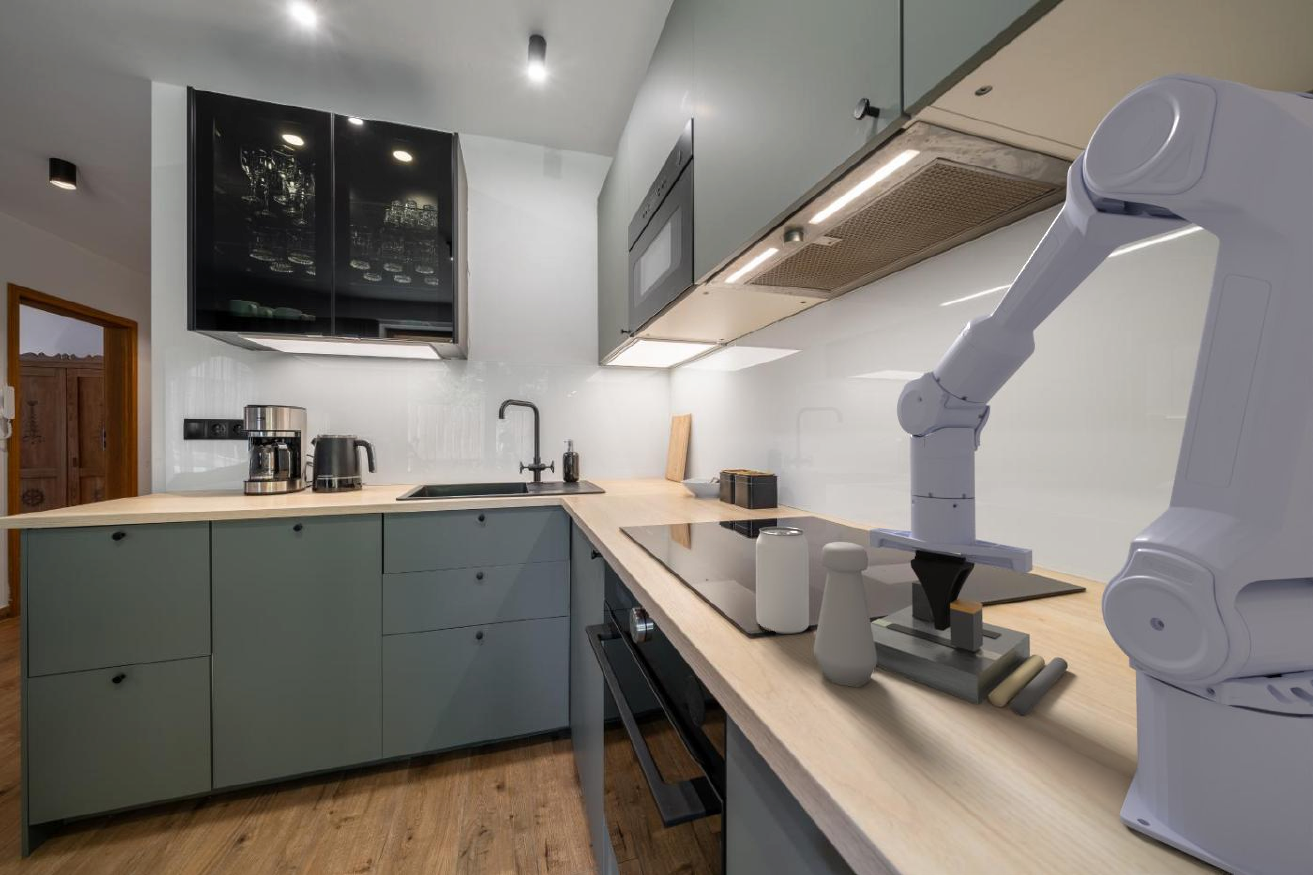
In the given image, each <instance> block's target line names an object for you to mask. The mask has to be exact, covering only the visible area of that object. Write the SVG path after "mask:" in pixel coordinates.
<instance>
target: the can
mask: <svg viewBox="0 0 1313 875" xmlns="http://www.w3.org/2000/svg"><path fill="white" fill-rule="evenodd" d="M758 531H759V534H758V537H757V539H756V542H755V602H756V604H755V605H756V607H755V610H756V612H755V613H756V614H755V615H756V616H755V617H756V622H757V624H758V625H759V624H760V625H761V626H763V627H766V628H769V629H771V630H773V631H775V632H776V633H775V634H780V635H798V634H801V633H804V632H805V631H806V630H807V629H808V628H809V626H810V597H809V596H810V583H809V582H810V581H809V580H810V577H809V576H810V573H809V571H810V569H809V565H810V564H809V562H810V561H809V559H810V558H809V543H808V541H807V538H806V536H805V533H806V532H805V530H803V529H800V528H796V527H788V526H765V527H762V528H759V529H758ZM760 625H759V626H760Z"/></svg>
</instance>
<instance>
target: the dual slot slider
mask: <svg viewBox="0 0 1313 875" xmlns="http://www.w3.org/2000/svg"><path fill="white" fill-rule="evenodd" d="M911 597H912V600H911V604H910V605H909V606H907V607H904V608H902V609H900V610H897V611H895V612H893V613H890V614H888V615H887V616H884V617H882V618H877V619H876V620H873V621H872V622H871V621H870V623H871V629H872V634H873V639H874V644H875V649H876V654H877V663H876V666H875V667H877V668H880V669H882V670H885V671H887V672H891V673H893V674H896V675H899V676H901V677H903V678H906V679H909V680H912V681H914V682H917V683H919V684H921V685H925V686H927V687H931V688H932V689H935V690H938V691H941V692H943V693H946V694H949V695H952V696H954V697H956V698H960V699H962V700H964V701H967V702H970V703H973V704H975V705H979V704H980V703H982V702H983V701H984V700H985V699H986V698H987V697H989V694H990V693H991V692H992V691H993V690H994V689H995V688H996V687H997V686H998V685H1000V684H1001V683H1002V682H1003V681H1004V680H1005V679H1006V678H1007V677H1008V676H1010V675H1011V674H1012V673H1013V672H1014V671H1015V670H1016V669H1017V668H1018V667H1020V666H1021V665H1022V664H1023V663H1024V662H1025V661H1026V660H1027V659H1028V658H1030V657H1031V642H1030V641H1031V640H1030V639H1031V638H1030V637H1031V635H1030V633H1026V632H1023V631H1019V630H1016V629H1011V628H1007V627H1003V626H998V625H995V624H992V623H987V622H984V621H983V645H982V646H981V647H979V648H978V649H977V650H975V651H970V650H967V649H964V648H960V647H957V646H954V645H951V627H949V628H947V629H946V630H944V631H941V630H937V629H935V626H934V618H933V614H932V611H931V608H930V604H929V601H928V599H927V596H926V594H925V591H924V589H923V587H922V585H921V583H920V581H919V579H918V580H916V581H913V582H911Z"/></svg>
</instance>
